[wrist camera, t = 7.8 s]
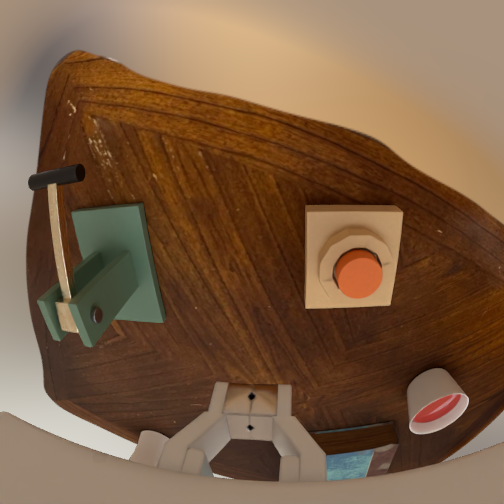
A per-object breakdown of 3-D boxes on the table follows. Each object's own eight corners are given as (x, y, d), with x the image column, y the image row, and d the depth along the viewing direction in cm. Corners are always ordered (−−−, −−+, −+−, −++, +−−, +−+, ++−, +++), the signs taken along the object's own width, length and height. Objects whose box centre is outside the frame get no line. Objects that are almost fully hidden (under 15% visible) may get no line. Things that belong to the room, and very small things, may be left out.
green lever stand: (76, 209, 31) (6, 250, 20) (143, 202, 30) (77, 247, 19) (105, 312, 36) (58, 372, 26) (166, 317, 35) (128, 388, 25)
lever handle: (41, 174, 23) (24, 175, 20) (88, 163, 22) (71, 163, 20) (62, 318, 26) (47, 328, 24) (108, 324, 25) (95, 336, 23)
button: (336, 249, 26) (339, 258, 24) (379, 248, 26) (385, 257, 24) (333, 289, 28) (336, 299, 26) (374, 288, 27) (379, 298, 26)
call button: (305, 204, 28) (308, 217, 25) (395, 205, 27) (410, 217, 24) (304, 297, 32) (306, 319, 29) (384, 294, 31) (395, 315, 28)
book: (375, 474, 49) (377, 492, 45) (295, 483, 52) (294, 501, 47) (394, 420, 40) (400, 444, 36) (288, 433, 43) (287, 458, 39)
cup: (178, 457, 51) (162, 511, 39) (130, 439, 50) (108, 490, 38) (187, 437, 47) (169, 500, 34) (132, 416, 46) (106, 476, 34)
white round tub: (400, 409, 39) (409, 440, 33) (398, 374, 36) (409, 409, 30) (451, 390, 37) (463, 419, 31) (455, 353, 34) (472, 384, 28)
